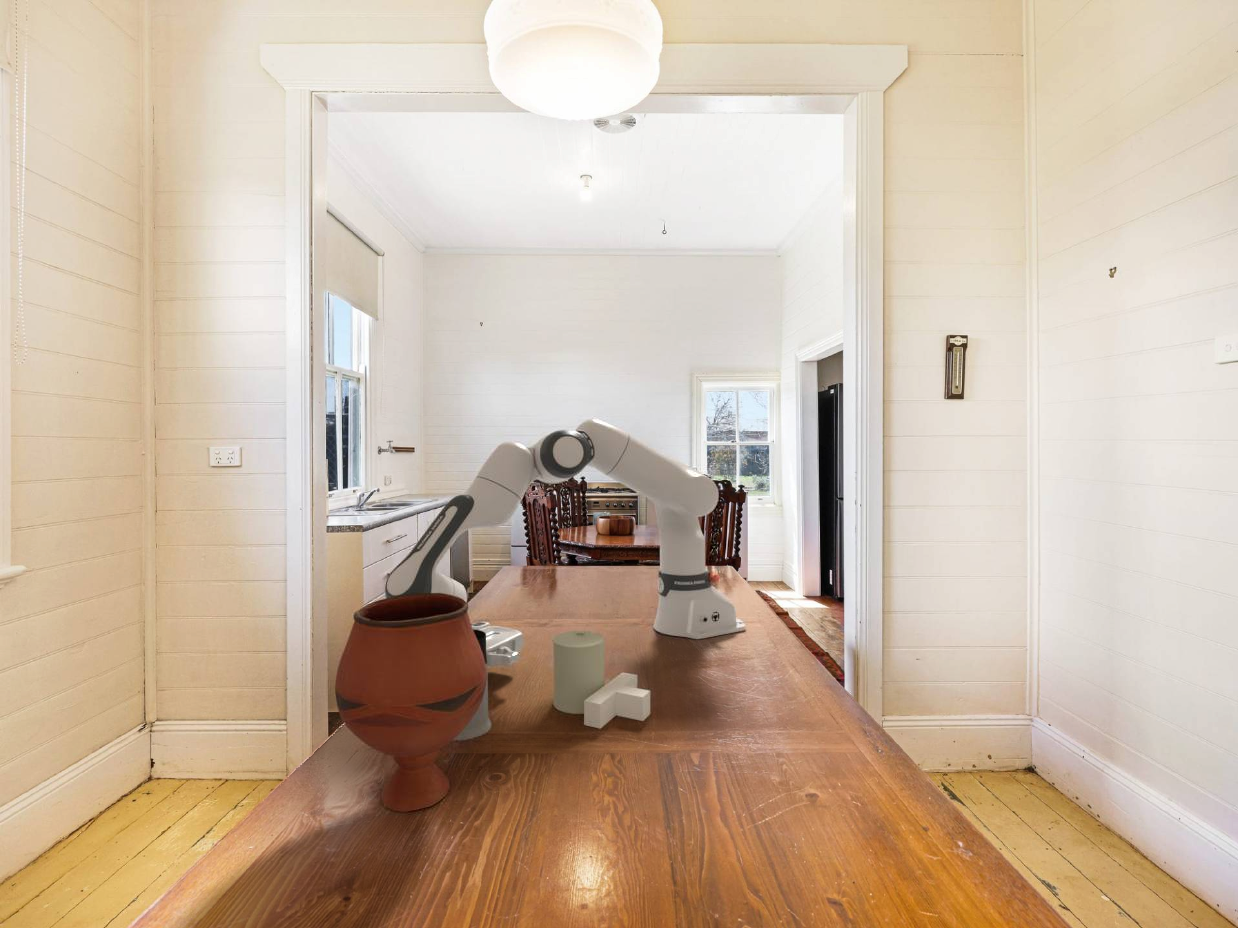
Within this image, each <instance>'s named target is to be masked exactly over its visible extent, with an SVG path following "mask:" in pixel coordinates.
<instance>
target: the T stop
mask: <svg viewBox="0 0 1238 928" xmlns="http://www.w3.org/2000/svg"><path fill="white" fill-rule="evenodd" d="M650 715H651V690H648V689H643V688H638V675H637V674H635V673H634V674H633V673H628V672H623V671H622V672H620V673H619V674H618V675H616V676H615V677H613V678H612V679H611V680H610V681H609V682H607V683H606V684H604V686H603V687H602V688H601V689H599V690H598V691H597V692H595V693H594V694H593V695H591V696H590V697H588V698H587V699H586V700H584V715H583V716H584V717H583V720H584V721H583V726H588V727H592V728H597V729H602V728H603V727H604V726H605V725H607V724H608V723H609V722H610V721H612V719H613V718H614V717H616V716H618V717H622V718H627V719H631V720H637V721H642V722H644V721H645V720H646V719H647V718H648V717H649V716H650Z"/></svg>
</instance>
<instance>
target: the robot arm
mask: <svg viewBox="0 0 1238 928" xmlns="http://www.w3.org/2000/svg"><path fill="white" fill-rule="evenodd" d="M587 466H588V467H590V468H593V469H596V470H597V471H599V472H600V473H602V474H604V475H606V476H607V477H609V478H610V479H613V481H614V480H615V481H616V482H618V483H619V484H621V485H622V486H625V487H627V488H628V489H630V490H632V491H634V492H636V493H638V494H640V495H642V496H644V497H645V498H647V499H650V500H652V501H653V505H654V512H655V518H656V523H657V529H658V534H659V535H658V537H659V570H658V575H657V576H658V577H657V590H658V604H657V612H656V615H655V620H654V624H653V629H654V630H655V631H656V632H659V633H660V634H664V635H669V636H672V637H673V636H676V637H684V638H689V639H693V640H701V639H707V638H712V637H716V636H721V635H727V634H733V633H737V632H743V631H746V623H745V622H744V621H742V619H740V618H738V617H737V614H736V609H735V605H734V603H733V601H732V600H731V599H730V598H729V597H727V596H726V595H725V594H723V593H722V592H721V591H719V590H718V589H717V588H716V587H715V586H713V584H712V583H719V581H720V579H721V577H720V576H719V574H716V573H715V572H713V573H710V572H709V571H708V570H707V569H706V540H705V539H706V538H705V535H704V534H703V531H702V529H701V525H700V520H699V518H701V517H704V516H707V515H709V514H710V513H712V512H713V511H714V510H715V508H716V506H717V504H718V502H719V498H720V497H719V494H720V493H719V489H718V486H717V484H716V483H715V482H714V481H713V480H712V479H711V478H710V477H709V476H707V475H705V474H703V473H702V472H700V471H698V470H696V469H694V468H693V467H691V466H690V465H687V464H685V463H682V462H680V461H679V460H677V459H675V458H673V457H670V456H668V455H667V454H665V453H662V452H660V451H658V450H657V449H655V448H653V447H651V446H649V445H648V444H646V443H644V442H643V441H641V440H639V439H637V438H636V437H634V436H633V435H632V434H629V433H628V432H627V431H624V430H622V429H620V428H618V427H617V426H614V425H612V424H610V423H608V422H605V421H602V420H600V419H596V418H588V419H586V420H583V422H581V423H580V424H578V426H577V427H576V429H575V430H574V429H571V430H569V429H561V430H560V429H559V430H555V431H553V432H551V433H549V434H547V435H545V436H543V437H542V438H540V439H539V440H538V441H537V442H536V443H535V444H533V445H531V446H529V447H528V446H525V445H524V444H521V443H520V442H515V441H504V442H502V443H500V444H499V445H497V447H496V448H495V449H494V450H493V452H492V453H491V454H490V455H489V457H488V458H487V459H486V461H485V462H484V463H483V464H482V467H481V468H480V470H479V472H478V473H477V475H476V477H475V478H474V479H473V482H472V483H471V485H470V486H469V487H468V488H467V489H466V490H465V491H464V492H463V493H462V494H459V495H456V496H454V497H453V498H451V499H450V500H449V501H448V502H447V503H446V504H445V506H444V507H442V509H441V510H440V512H439V513H438V514H437V516H436V517H435V518H434V519H433V521H432V522H431V524H430V525H429V526H428V527H427V529H426V530H425V532H424V533H423V534H422V535H421V537H420V538H419V539H418V540H417V543H416V544H415V545H414V547H413V548H412V549H411V550H410V552H409V553H408V554H406V556H405V557H404V558H403V559H402V560H401V562H400V563H398V564H397V565H396V566H395V567H394V568H393V569H392V570H391V572H390V573H389V575H388V577H387V578H386V582H385V587H384V592H385V593H384V594H385V595H384V596H385V599H387V598H391V597H397V596H402V595H408V594H418V593H444V594H449V595H453V596H457V597H459V598H462V599H463V600H464V601H465V602H467V603H468V592H467V589H466V587H465V586H464V585H463V584H462V583H460V582H458V581H457V580H455V579H454V578H451V577H449V576H447V575H445V574H442V573H440V572H438V571H437V568H438V565H439V564H440V562H441V561H442V560H443V558H444V557H445V555H446V554H447V553H448V552H449V550H450V548H451V547H452V546H453V545H454V543H455V541H456V539H458V538H459V537H460V536H461V535H462V533H464V532H466V531H469V530H472V529H486V530H487V529H494V528H495V529H496V528H499V527H502V526H503V525H505V524H507V523H508V522H510V520H511V519H512V517H513V516H514V514H515V513H516V512H517V510H518V508H519V505H520V504H521V501H522V500H523V498H524V496H525V494H526V491H527V490H528V488H530V486H531V484H533V483H536V484H540V485H546V486H548V485H549V486H551V485H556V484H561V483H565V482H567V481H569V480H570V479H571V478H573V477H575V476H577V475H579V474H580V473H581V472H582V471H583V470H584V469H585V468H586V467H587ZM471 626H472V628H473V629H474V630H480V631H483V632H485V633H486V655H487V663H488V668H489V667H496V666H498V667H499V666H507V667H510V666H513V664H515V663H517V662H519V661H520V653H519V652H521V651H523V648H524V634H523V632H521V631H520V630H517V629H513V628H509V627H503V626H498V625H491V624H490V622H487V621H480V622H479V621H478V622H473V623H472V622H471Z"/></svg>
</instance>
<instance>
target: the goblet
mask: <svg viewBox="0 0 1238 928" xmlns="http://www.w3.org/2000/svg"><path fill="white" fill-rule="evenodd" d="M468 610H469V603H468V601H467V602H465V601H464V600H463V599H462V598H459V597H457V596H453V595H449V594H444V593H418V594H408V595H402V596H397V597H391V598H387V599H386V598H383V599H379V600H376V601H373V602H369V604H366V605H364V606H363V607H361V608H360V609H358V610H357V611H355V612H354V614H353V624H352V627H351V630H350V633H349V636H348V638H347V641H346V644H345V647H344V649H343V652H342V654H341V657H340V660H339V664H338V667H337V672H336V677H335V683H334V692H335V700H336V706H337V710H338V713H339V716H340V717H341V720H342V722H343V723H344V725H345V726H346V728H347V729H348V730H349V731H350V732H351V733H352V734H353V735H354V736H355V737H357V739H359V740H360V741H362V742H363V743H364V744H365V745H367V746H368V747H370V748H372V749H373V750H376V751H378V752H380V753H382V754H385V755H387V756H390V757H391V756H392V757H393V758H392V759H393V761H394V763H395V764H396V765H398V766H397V768H396V769H395V772H394V773H393V774H392V775H391V777H390V778H388V780H387V782H386V783H385V784H384V786H383V789H382V792H381V795H380V796H381V797H380V798H381V801H382V803H383V807H386V808H387V809H389V810H391V811H394V812H402V813H403V812H405V813H406V812H411V811H417V810H422V809H425V808H429V807H433V806H434V805H436V804H437V803H439V802H440V801H442V800H443V799H444V798H445V797H447V794H448V792H449V790H450V785H451V784H450V781H449V779H448V777H447V776H446V774H445V773H444V772H443V771H442V770H441V769H440V767H438V766H437V765H436V764H435V761H436V760H437V759H438V758H439V757H440V755H441V748H443V747H445V746H446V745H447V744H449V743H450V742H451V741H454V740H453V739H454V738H455V737H456V736H457V735H458V734H459V733H460V732H461V731H462V730H463V729H464V728H465V727H466V726H467V724H468V723H469V722H470V720H471V719H472V718H473V716H474V715H475V713H476V712H477V710H478V708H479V706H480V704H481V702H482V699H483V696H484V692H485V688H486V682H487V668H486V664H485V660H484V656H483V653H482V650H481V648H480V645H479V642H478V640H477V638H476V636H475V634H474V631H473V628H472V626H471V624H472V622H471V620H470V616H469V613H468ZM443 797H444V798H443ZM441 799H442V800H441Z"/></svg>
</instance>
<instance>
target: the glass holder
mask: <svg viewBox="0 0 1238 928" xmlns="http://www.w3.org/2000/svg"><path fill="white" fill-rule="evenodd" d="M473 631H474V634H475V636H476V638H477V640H478V642H479V645H480V648H481V650H482V653H483V656H484V660H485V664H486V668H487V682H486V688H485V692H484V696H483V699H482V702H481V704H480V706H479V708H478V710H477V712H476V713H475V715H474V716H473V718H472V719H471V720H470V722H469V723H468V724H467V726H466V727H465V728H464V729H463V730H462V731H461V732H460V733H459V734H458V735H457V736H456V737H455V738H454V739H453V740H452V741H454V740H455V741H456V740H458V741H466V740H465V739H468V740H472V739H475V738H474V737H476V738H478V736H479V737H481V736H483V735H484V734H486V733H488V732H489V731H490V729H491V727H492V722H491V720H490V719H489V689H488V688H489V684H488V682H489V681H488V678H489V677H488V676H489V674H488V673H489V671H488V670H489V667H488V663H487V655H486V633H485V632H483V631H480V630H474V629H473ZM488 730H489V731H488ZM482 734H483V735H482Z"/></svg>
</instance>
